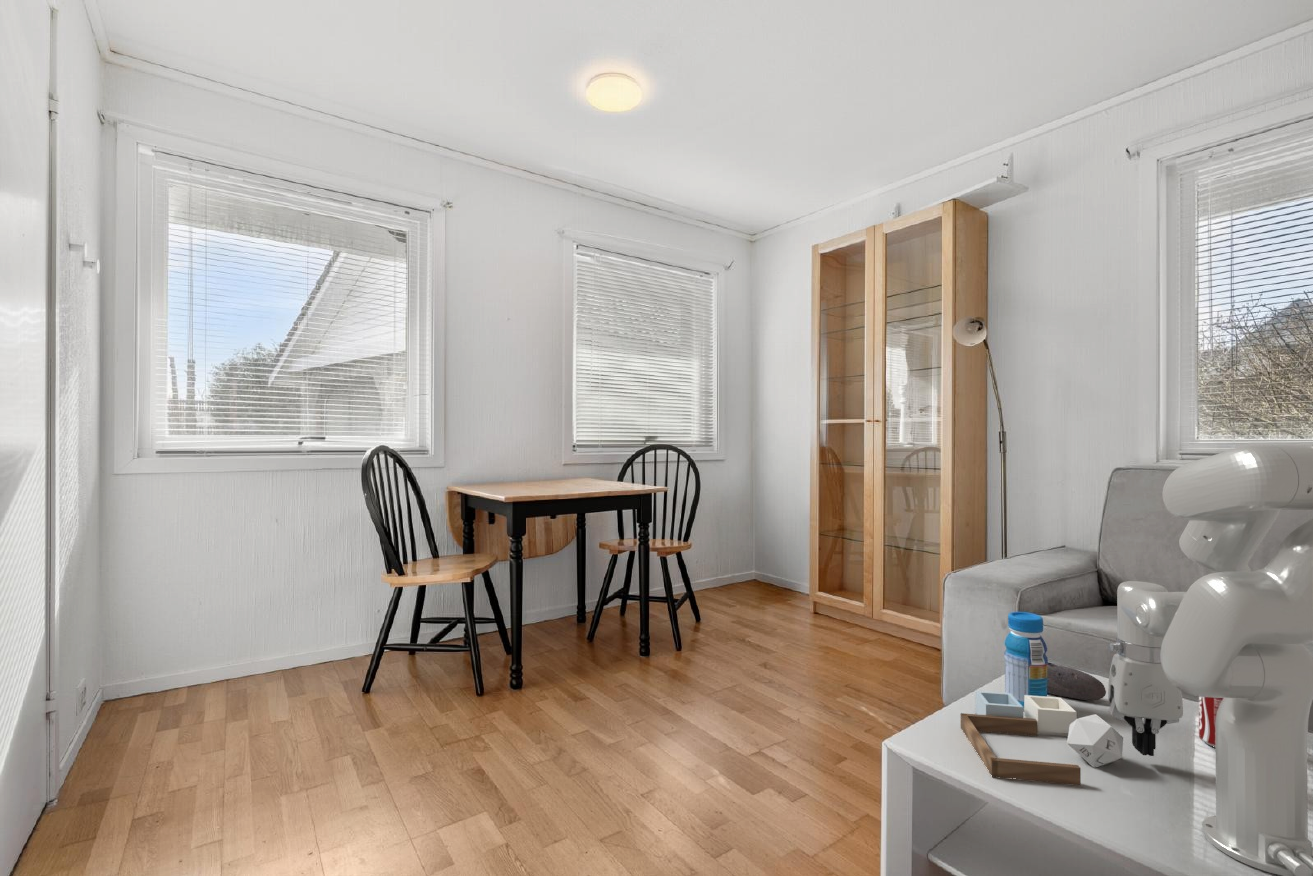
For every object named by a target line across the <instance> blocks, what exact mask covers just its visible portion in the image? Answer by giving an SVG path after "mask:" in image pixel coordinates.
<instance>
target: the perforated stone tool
mask: <svg viewBox="0 0 1313 876" xmlns="http://www.w3.org/2000/svg"><path fill="white" fill-rule="evenodd" d="M1106 693H1107V690H1106V686H1105V685H1104V683H1102V681H1100V680H1099V679H1097V678H1096V677H1094V676H1092V675H1090V674H1089V673H1086V672H1084V671H1081V670H1079V669H1076V668H1072V667H1069V666H1065V665H1062V664H1059V665H1058V664H1057V663H1053V662H1049V661H1048V665H1047V694H1049V695H1053V696H1054V695H1055V696H1058V697H1065V698H1070V699H1076V700H1081V701H1099V700H1101V699H1104V698H1105V697H1106Z"/></svg>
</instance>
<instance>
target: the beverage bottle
mask: <svg viewBox="0 0 1313 876" xmlns="http://www.w3.org/2000/svg"><path fill="white" fill-rule="evenodd" d="M1007 623H1008V629H1009V630H1010V631H1009V633H1008V634H1007V635H1006V637H1005V640H1004V646H1005V648H1006V649H1005V650H1004V652H1003V658H1004V677H1005V679H1004V680H1005V681H1004V683H1005V684H1004V685H1005V686H1004V687H1005V688H1004V689H1005V690H1004V691H1005V692H1004V693H1011V694H1012V695H1013V696H1014V698H1015V699H1016V700H1017V701H1018V702H1019V703H1020V704H1021V705H1022V706H1023V711H1024V695H1030V696H1044V697H1048V693H1047V665H1048V662H1049V659H1048V656H1047V654H1046V653H1047V652H1048V646H1047V644H1046V640H1045V639H1044V638H1043V637H1042V635H1041V634H1043V632H1044V619H1043V617H1042V616H1041V615H1039V614H1036V613H1032V612H1024V611H1012V612H1009V613H1008V616H1007Z"/></svg>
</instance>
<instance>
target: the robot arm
mask: <svg viewBox="0 0 1313 876" xmlns="http://www.w3.org/2000/svg"><path fill="white" fill-rule="evenodd" d="M1161 495H1162V501H1163V504H1164V506H1165V508H1166V510H1167V511H1168V512H1169V513H1170V514H1171V515H1172V516H1174V517H1176V518H1178V519H1181V520H1184V521H1188V523H1187V525H1186V526H1185V528H1184V530H1183V531H1182V533H1181V535H1180V536H1179V542H1178V543H1179V544H1178V546H1179V548H1180V550H1181V552H1182V553H1183V554H1184V555H1185V556H1186V558H1188V559H1189V560H1191V561H1192V562H1194V563H1195V564H1197V565H1198V566H1200V567H1202V568H1205V569H1206V570H1208V571H1211V573H1208V574H1206V575H1203V576H1202V577H1201V576H1200V578H1198V579H1196V580H1195V581H1194V582H1193V583H1192V584H1191V585H1190V586H1189V588H1188V589H1187V590H1186V591H1168V589H1167V588H1166V587H1165V586H1163V585H1161V584H1158V583H1154V582H1149V581H1140V580H1127V581H1122V582H1121V583H1120V584H1118V587H1117V591H1116V594H1117V595H1116V596H1117V598H1116V599H1117V600H1116V601H1117V602H1116V603H1117V606H1116V607H1117V609H1116V611H1117V612H1116V613H1117V616H1116V617H1117V638H1116V639H1115V640H1116V641H1115V642H1114V643H1113V642H1110V643H1109V649H1110V651H1115V652H1116V653H1115V654H1113V657H1112V660H1111V664H1110V669H1109V678H1108V688H1107V690H1108V691H1107V695H1108V696H1107V698H1108V699H1107V700H1108V703H1109V704H1110V706H1109V711H1108V714H1109V715H1110V716H1111V717H1112V718H1114V719H1117V720H1121V721H1125V723H1127V724H1128V725H1129V726H1130V727H1131V744H1132V746H1133V747H1134V749H1135V750H1136V751H1138V752H1139V753H1140V754H1141V755H1142V756H1149V757H1154V755H1155V754H1154V753H1155V751H1154V750H1156V746H1157V745H1156V738H1157V737H1156V736H1157V735H1158V734H1159V733H1160V730H1161V729H1162V728H1163V727H1165V726H1166V725H1170V724H1171V725H1172V724H1177V723H1179V722H1180V720H1181V719H1182V718H1183V714H1184V704H1183V693H1184V694H1185V693H1186V694H1189V695H1191V696H1194V697H1199V696H1200V697H1212V698H1223V700H1222V701H1221V703H1220V705H1219V708H1218V711H1217V715H1216V723H1215V731H1216V732H1215V748H1214V749H1215V815H1211V816H1208V817H1206V818H1204V820H1203V821H1202V822H1201V823H1202V824H1201V825H1202V827H1201V829H1202V834H1203V835H1204V837H1205V839H1207V841H1208V842H1209V843H1210V844H1211V845H1212V846H1214V847H1215V848H1216V849H1218V850H1219V851H1221V852H1222V853H1224V854H1226V855H1227V856H1229V857H1231V858H1232V859H1234V860H1237V861H1239V862H1241V863H1243V864H1244V865H1248V866H1250V867H1253V868H1254V869H1256V870H1260V871H1262V872H1263V871H1264V872H1267V873H1270V874H1273V875H1276V876H1313V846H1312V845H1313V842H1312V841H1311V840H1310V839H1309V833H1308V832H1309V831H1308V830H1309V829H1308V828H1309V821H1308V820H1309V819H1308V816H1309V815H1308V811H1309V809H1308V808H1309V807H1308V804H1309V801H1308V800H1309V799H1308V798H1309V797H1308V741H1309V740H1308V737H1309V735H1308V734H1309V733H1308V730H1309V718H1310V710H1311V707H1312V703H1313V654H1312V652H1310V650H1309V649H1308V648H1307V647H1306V645H1304V644H1313V517H1311V518H1310V519H1309V520H1307V521H1306V522H1303V523H1302V524H1301V525H1298V526H1297V527H1296V528H1294V530H1292V531H1291V532H1290V533H1289V534H1288V535H1286V537H1285V538H1284V539H1283V540H1282V541H1281V542H1280V544H1279V546H1278V548H1277V550H1276V552H1275V553H1274V555H1273V557H1272V558H1271V560H1270V561H1269V562H1268V564H1266V566H1264V567H1263V568H1260V569H1256V570H1253V571H1252V568H1250V566H1249V562H1250V560H1251V559H1252V557H1253V556H1254V554H1255V552H1256V551H1257V549H1258V548H1259V547H1260V544H1261V543H1262V541H1263V540H1264V538H1265V537H1266V535H1267V534H1268V533H1269V530H1270V529H1271V528H1272V526H1273V524H1274V523H1275V522H1276V519H1277V518H1278V517H1279V515H1280V513H1281V512H1282V511H1313V444H1293V445H1291V444H1288V445H1287V444H1285V445H1284V444H1283V445H1281V444H1277V445H1275V444H1271V445H1269V444H1267V445H1265V444H1263V445H1262V444H1261V445H1260V444H1259V445H1248V446H1247V445H1246V446H1242V447H1237V448H1236V447H1235V448H1234V449H1232V448H1231V449H1229V450H1225V451H1222V452H1220V453H1217V454H1214V455H1210V456H1207V457H1203V458H1200V459H1196V460H1194V461H1191V462H1188V463H1185V464H1183V465H1180V466H1178V467H1177V468H1176V469H1175V470H1173V471H1172V472H1171V473H1170V474H1169V475H1168V477H1167V478H1166V480H1165V482H1164V484H1163V487H1162V494H1161ZM1182 692H1183V693H1182Z"/></svg>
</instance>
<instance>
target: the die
mask: <svg viewBox="0 0 1313 876" xmlns="http://www.w3.org/2000/svg"><path fill="white" fill-rule="evenodd" d="M1066 740H1067V741H1066V744H1067V745H1068V746H1069V747H1070V748H1071V749H1073V750H1074V751H1075V752H1076V753H1077V754H1078V755H1079V756H1080V757H1081V758H1083V760H1085V761H1086V762H1087V763H1088V764H1089V765H1090V766H1091V767H1092V768H1097V767H1102V766H1104V765H1105V766H1106V765H1109V764H1112V763H1114V762H1116V761H1118V760H1121V759H1122V758H1123V750H1124V749H1123V747H1124V736H1122V734H1120V733H1119V732H1118V731H1117V730H1116V729H1115V728H1114V727H1113V726H1112V725H1110V724H1109V722H1106V721H1105V720H1104V719H1102V718H1101V717H1100V716H1099V715H1098V714H1091V715H1086V716H1083V717H1079V718H1077V719H1076V720H1075V721H1074V722H1072V723H1071V724H1070V726H1069V733H1068V736H1067V739H1066Z"/></svg>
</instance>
